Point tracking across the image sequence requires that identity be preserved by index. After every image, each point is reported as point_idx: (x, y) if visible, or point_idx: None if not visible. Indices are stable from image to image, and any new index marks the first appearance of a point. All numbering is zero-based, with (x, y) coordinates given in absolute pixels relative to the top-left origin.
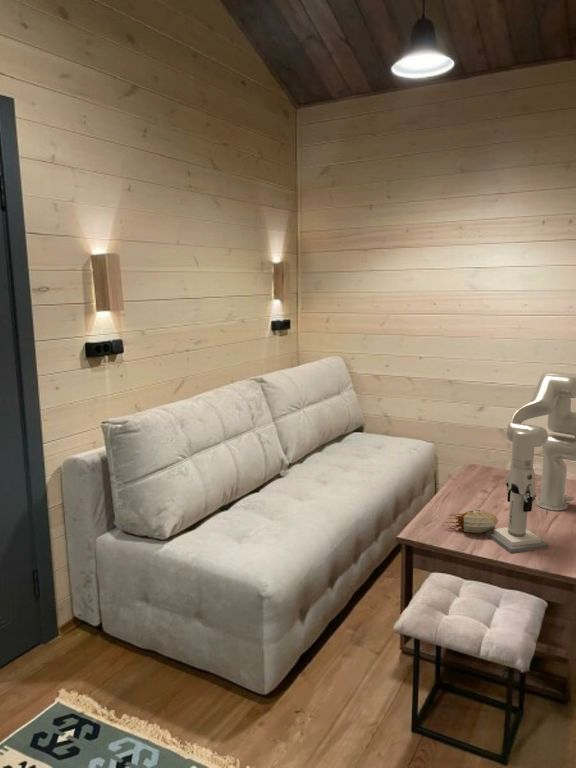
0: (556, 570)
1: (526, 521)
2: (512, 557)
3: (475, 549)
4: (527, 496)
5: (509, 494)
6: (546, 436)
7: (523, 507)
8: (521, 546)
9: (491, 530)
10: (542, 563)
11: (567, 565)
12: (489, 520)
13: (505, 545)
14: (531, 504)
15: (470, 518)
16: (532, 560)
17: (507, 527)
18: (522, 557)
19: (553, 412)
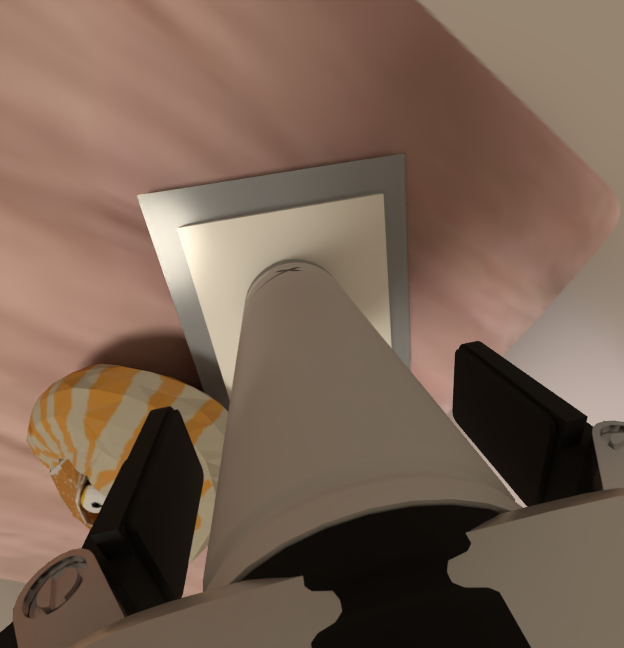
0: (580, 243)
1: (340, 290)
2: (436, 369)
3: None
4: (504, 486)
5: (185, 567)
6: None
7: (485, 450)
8: (396, 318)
9: (207, 391)
10: (514, 272)
11: (569, 162)
12: (217, 453)
13: None
14: (535, 389)
15: (207, 538)
16: (480, 302)
17: (210, 326)
18: (447, 331)
19: None
